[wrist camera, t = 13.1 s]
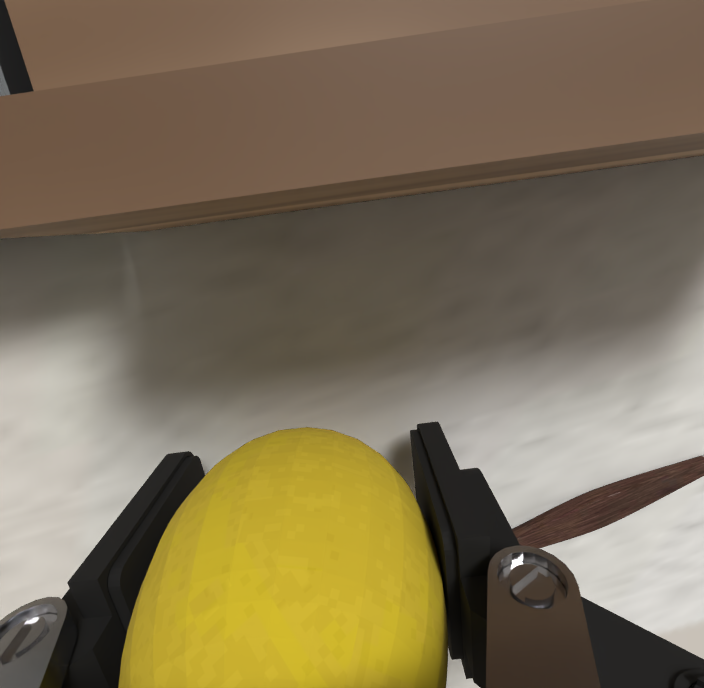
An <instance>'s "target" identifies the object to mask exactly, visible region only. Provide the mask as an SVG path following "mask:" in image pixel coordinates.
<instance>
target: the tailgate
mask: <svg viewBox="0 0 704 688" xmlns="http://www.w3.org/2000/svg"><path fill="white" fill-rule="evenodd" d="M32 91H34V90H33V87H32V84H31V81H30V78H29V75H28V72H27V68H26V65H25V62H24V59H23V56H22V53H21V50H20V47H19V44H18V41H17V38H16V35H15V32H14V28H13V25H12V22H11V19H10V16H9V13H8V10H7V7H6V4H5V1H4V0H0V96H5V95H12V94H19V93H26V92H32ZM0 239H6V238H0Z"/></svg>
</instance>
